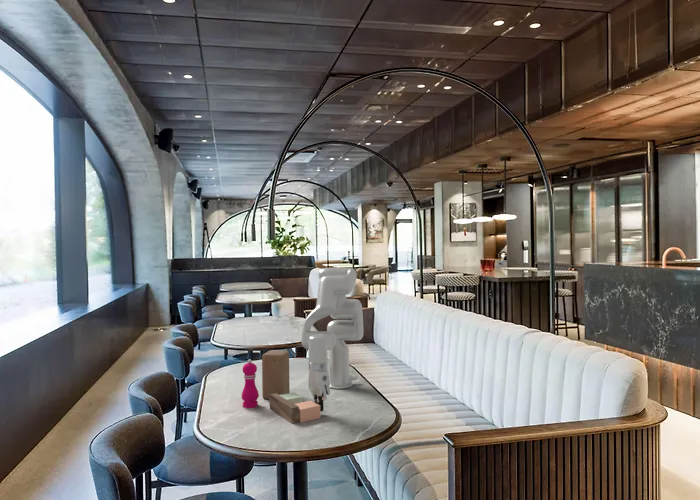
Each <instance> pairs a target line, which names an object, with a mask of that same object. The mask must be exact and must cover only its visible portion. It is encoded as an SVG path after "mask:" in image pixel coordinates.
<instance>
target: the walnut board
mask: <svg viewBox="0 0 700 500" xmlns="http://www.w3.org/2000/svg"><path fill="white" fill-rule="evenodd" d="M269 398H270V399H269V410H271V411H273V412H274V413H275V414H277V416H280V417H281V418H282V419H284V420H285V421H288V422H289V423H291V424H296V423H300V422H299V406H297V405H295V404H293V403H292V402H290V401H288V400H287V399H285V398H283V397H281V396H280V395H278V394H276V393H275V394H269Z"/></svg>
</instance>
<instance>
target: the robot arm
mask: <svg viewBox="0 0 700 500" xmlns="http://www.w3.org/2000/svg"><path fill="white" fill-rule="evenodd" d="M357 278H358V277H357V272H356V270H355V269H354V268H352V267H324V268H321V269H319V271H318V279H319V282H318V289H317V297H316V303H315V304H316V305H315V308H314V309H313V310H312V311H311V312H310V313H309V314H308V315H307V316H306V318H305V320H304V322H303V325H302V331H301V338H300V339H301V347H303V348H304V349H306V350H308V390H309V392H310V393H311V395H312V396H313V402H314V403H316V404H318V405H320V413H321V412H323V411H324V402H325V400H328V398H327V397H328V396H329V395H331V389H333V390H334V389H335V390H336V389H337V390H343V389H349V388H352V387H353V384H354V383H353V381H356V380H358V379H359V376H358V375H350V349H349V347H348V345H347V343H346V342H345V341H360V340H362V339H363V337H364V315H363V305H362V302H361V301H360V300H359V299H355V298H347V295H351V293H352V291H353V290H354V287H355V285H356V283H357ZM326 317H330V318H332V319H334V320H331V321H330V322H329V323H328V324H327V326H326V331H322V330H321V331H320V330H311V329H312V326H313V325H314V324H315V323H316V322H318V321H319V320H320V321H321V320H322V319H324V318H326ZM328 352H329V353H328ZM328 359H329V367H328ZM328 368H329V369H328ZM327 395H328V396H327Z"/></svg>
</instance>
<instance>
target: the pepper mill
mask: <svg viewBox="0 0 700 500" xmlns="http://www.w3.org/2000/svg"><path fill="white" fill-rule="evenodd" d="M257 371H258V366H257V365H256V364H255V363H254V362H252V359H251V358H250V359H248V360H247V363H245V364H244V365H243V366H242V373H243V378H244V386H243V389H242V391H241V399H242V401H243V402H242V407H243V408H244V409H254V408H257V407H258V405H259V404H258V403H259V402H258V399H259V397H260V395H259V390H258V388H257V386H256V381H255V380H256V378H257V377H256V376H257V374H256V373H257Z"/></svg>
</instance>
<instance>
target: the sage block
mask: <svg viewBox="0 0 700 500" xmlns="http://www.w3.org/2000/svg"><path fill="white" fill-rule="evenodd" d="M280 396H281V397H283V398H285V399H287V400H288V401H290V402H292V403H293V404H296V403H301V402H304V400H303V399H304V398H303V396H302V395H300V394H298V393H297V392H294V391H293V392H290V393H288V394H282V395H280Z"/></svg>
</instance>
